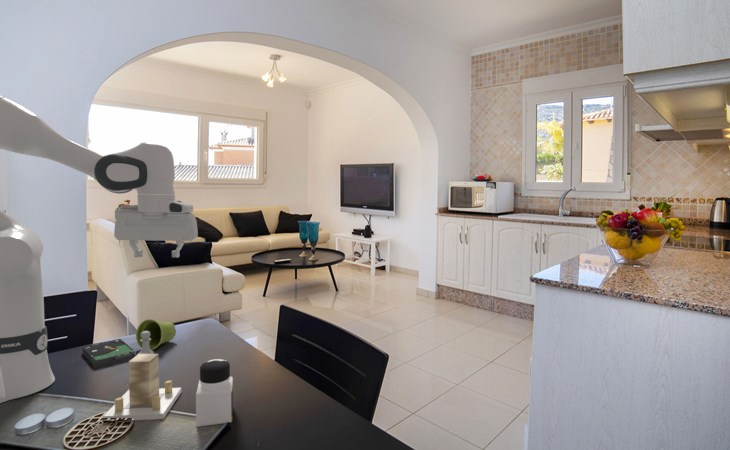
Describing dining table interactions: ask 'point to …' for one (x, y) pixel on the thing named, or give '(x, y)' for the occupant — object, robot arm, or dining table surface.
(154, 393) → the maple block
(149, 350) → the chess piece
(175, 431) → the dining table surface
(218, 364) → the medicine bottle
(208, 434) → the dining table surface
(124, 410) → the white pegged board
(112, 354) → the disk drive
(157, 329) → the plant pot
